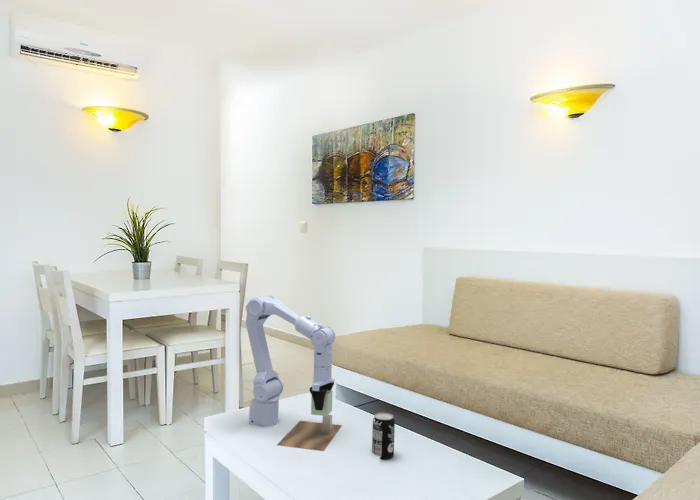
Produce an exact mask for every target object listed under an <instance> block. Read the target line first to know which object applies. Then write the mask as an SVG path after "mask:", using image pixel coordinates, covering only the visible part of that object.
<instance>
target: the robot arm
mask: <svg viewBox="0 0 700 500" xmlns="http://www.w3.org/2000/svg"><path fill="white" fill-rule="evenodd" d="M245 310H246V318H245V326H246V330H247V336H248V339H249V344H250V348H251V353H252V357H253V363H254V365H255V366H254V367H255V370H256V372H255V373H256V374H255V377H254V378H253V381H252V382H253V390H252V391H253V392H252V395H253V397H254V398H252V400H251V401H250V404H249V410H248V412H249V415H248V417H249V418H248V424H249V425H255V426H256V425H257V426H261V427H274V426H276V425H277V424H279V406H280V405H279V402H280V401H279V400H280V396H281V394H282V393H283V390H284V384H283V382H282V380H281V379H280V376H279V373H278V372H277V371H276V370H274V368H273V365H272V359H271V356H270V352H269V347H268V343H267V338H266V334H265V330H264V324H265V323H266V321H267V319H268V318H269V317H271V315H275V316H277V317H280V318H281V319H283V320H285V321H287V322H288V323H290V324H292V325H293V326H294V328H295V331H296V332H297V333H299V334H301V335H302V336H304V337H305V338H307V339H309V340H310V341H311V344H312V345H313V378H312V385H311V387H309V392H310V395H312V397H313V400H314V405H315V409H316V410H322V409H323V405H324V399H325V395H326V392H327V390H329V391H332V389H333V387H334V385H335V381H336V380H335V378H332V364H333V363H332V361H333V360H332V359H333V358H332V355H333V354H332V353H333V343H334V342H335V339H336V334H335V331H334V330H333V329H332V328H331V327H330V326H323V324H322V323H318V322H316V321H315V320H314V319H312V316H311V315H302V316H300V315H299V314H297V313H296V312H295V311H293V310H292V309H291V308H289V307H287V305H285V304H284V303H282V302H281V301H280V299H279V298H276V297H275V296H272V295H266V296H260V297H253V298H251V299H250V300H249V301H248V303H247V304H246V305H245Z"/></svg>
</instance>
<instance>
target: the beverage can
mask: <svg viewBox="0 0 700 500" xmlns="http://www.w3.org/2000/svg"><path fill="white" fill-rule="evenodd" d="M395 425H396V421H395V418H394V415H393V414H391V413H388V412H377V413H375V414H374V417H373V419H372V432H371V433H372V435H371V438H372V439H371V453H372V454H373V455H375V456H379V460H389V459H391V458H392V457H393V456H394V454H395V428H396V427H395Z"/></svg>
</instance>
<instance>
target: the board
mask: <svg viewBox="0 0 700 500" xmlns="http://www.w3.org/2000/svg"><path fill="white" fill-rule="evenodd" d="M341 427H343V425H342V424H335V423H334V424H333V423H332V433H331V434H330V435H327V434H322V422H314V421H307V420H299V421H298V422H297V423H296V424H295V425H294V426H293V427H292V429H290V430H289V431H288V432H287V433H286V435H285V436H284V437H283V438H281V440H280V441H279V442H278V443H277V444H276V446H280V447H286V448H287V447H289V448H295V449H302V450H303V449H305V450H311V451H320V452H324V451H326V449H327V447H328V446H329V444H330V443H331V442H332V441H333V439H334V438H335V436H336V435H337V433H338V432H339V430H340V429H341Z"/></svg>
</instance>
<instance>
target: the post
mask: <svg viewBox="0 0 700 500" xmlns="http://www.w3.org/2000/svg"><path fill="white" fill-rule="evenodd" d="M321 420H322V421H321V423H322V434H327V435H330V434H331V433H332V424H333V414H329V415H328V416H322V419H321Z"/></svg>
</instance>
